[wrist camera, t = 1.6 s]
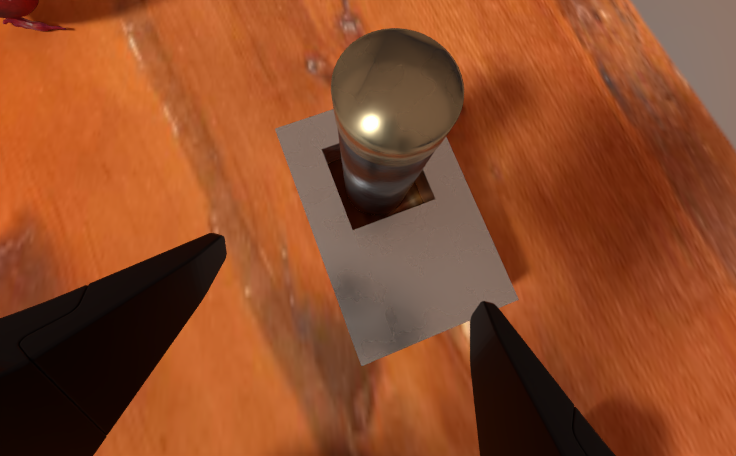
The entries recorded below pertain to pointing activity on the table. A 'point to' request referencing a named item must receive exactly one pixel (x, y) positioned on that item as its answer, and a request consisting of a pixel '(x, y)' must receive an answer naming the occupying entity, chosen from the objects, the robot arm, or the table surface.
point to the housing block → (397, 247)
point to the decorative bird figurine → (22, 14)
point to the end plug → (392, 113)
